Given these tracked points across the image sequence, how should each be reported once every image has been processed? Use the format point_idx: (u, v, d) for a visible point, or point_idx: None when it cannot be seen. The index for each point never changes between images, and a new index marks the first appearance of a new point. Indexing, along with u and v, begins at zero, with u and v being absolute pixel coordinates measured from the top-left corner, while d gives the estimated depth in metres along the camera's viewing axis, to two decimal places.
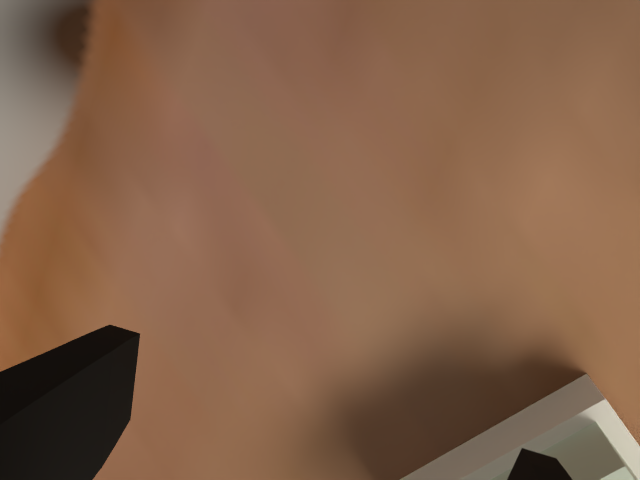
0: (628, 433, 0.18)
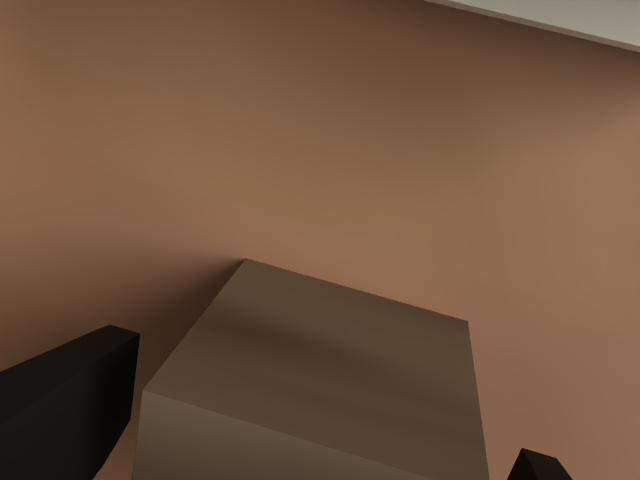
0: None
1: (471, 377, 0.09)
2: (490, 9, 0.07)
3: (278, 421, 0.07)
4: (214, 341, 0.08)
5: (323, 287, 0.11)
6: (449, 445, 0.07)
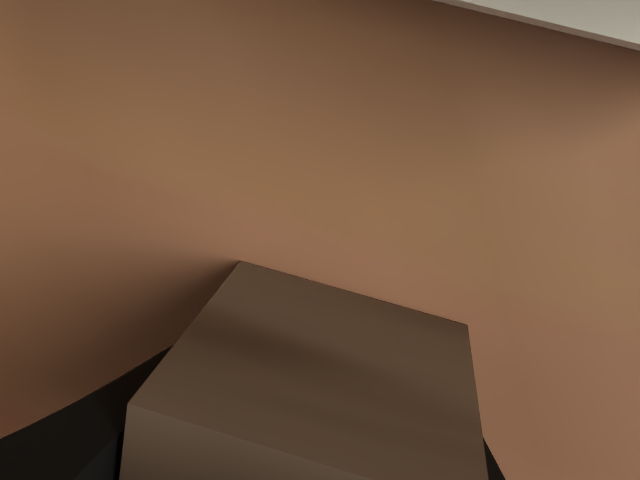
0: None
1: (472, 388, 0.09)
2: (490, 7, 0.07)
3: (269, 435, 0.07)
4: (204, 350, 0.08)
5: (319, 292, 0.10)
6: (448, 460, 0.07)
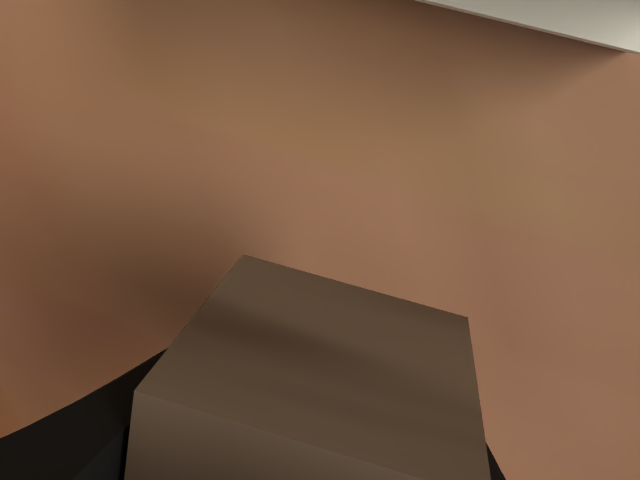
0: None
1: (472, 377, 0.09)
2: (464, 8, 0.11)
3: (273, 422, 0.07)
4: (208, 340, 0.08)
5: (320, 285, 0.11)
6: (450, 446, 0.07)
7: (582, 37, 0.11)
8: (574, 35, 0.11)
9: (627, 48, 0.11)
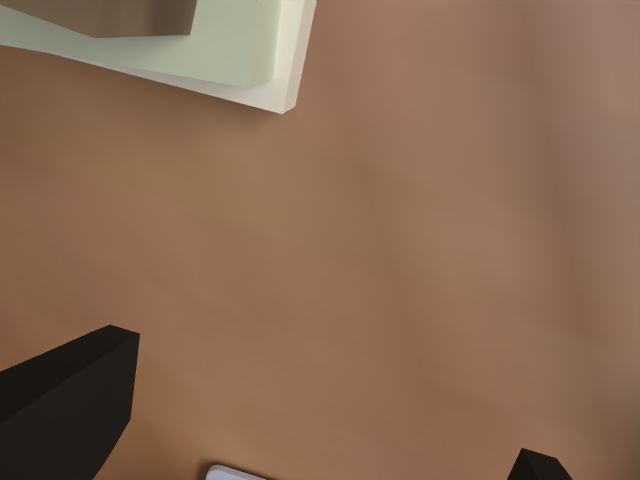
0: None
1: None
2: (165, 83, 0.17)
3: None
4: None
5: None
6: None
7: (237, 101, 0.17)
8: (232, 100, 0.17)
9: (263, 108, 0.17)
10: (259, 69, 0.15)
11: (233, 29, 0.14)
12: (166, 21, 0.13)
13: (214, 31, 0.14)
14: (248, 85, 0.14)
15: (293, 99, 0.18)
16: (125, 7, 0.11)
